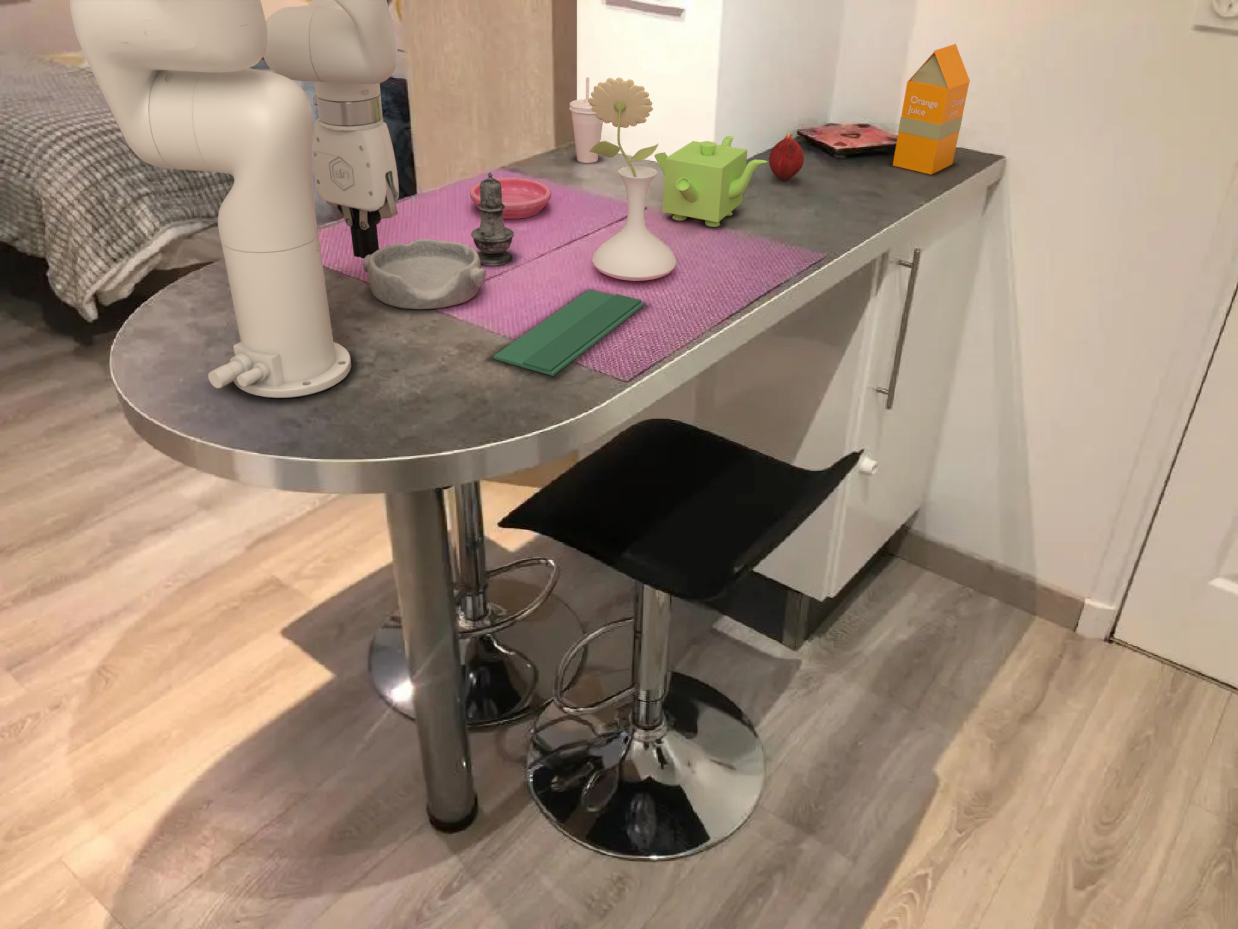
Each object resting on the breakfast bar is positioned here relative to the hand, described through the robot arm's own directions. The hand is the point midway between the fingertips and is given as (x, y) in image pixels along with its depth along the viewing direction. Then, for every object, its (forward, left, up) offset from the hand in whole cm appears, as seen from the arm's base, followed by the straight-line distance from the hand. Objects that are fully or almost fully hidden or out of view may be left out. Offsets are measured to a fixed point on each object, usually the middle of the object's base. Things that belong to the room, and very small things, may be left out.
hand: (366, 254), depth 133 cm
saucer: (+32, -1, -3) cm, 32 cm away
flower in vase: (+20, -28, -3) cm, 35 cm away
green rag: (0, -31, -3) cm, 31 cm away
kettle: (+46, -28, -3) cm, 54 cm away
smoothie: (+61, +2, -3) cm, 61 cm away
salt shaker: (+14, -10, -3) cm, 18 cm away
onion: (+69, -32, -3) cm, 76 cm away
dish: (0, -9, -3) cm, 10 cm away
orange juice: (+92, -50, -3) cm, 105 cm away
